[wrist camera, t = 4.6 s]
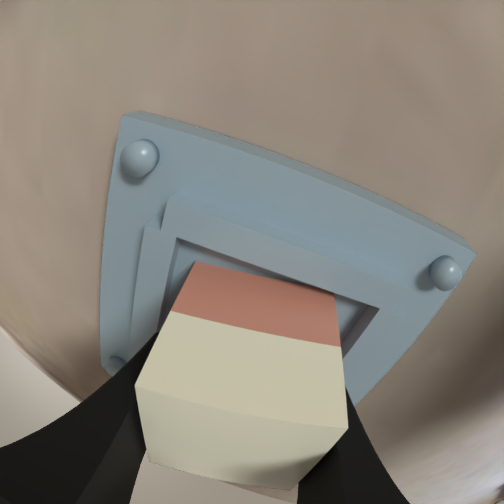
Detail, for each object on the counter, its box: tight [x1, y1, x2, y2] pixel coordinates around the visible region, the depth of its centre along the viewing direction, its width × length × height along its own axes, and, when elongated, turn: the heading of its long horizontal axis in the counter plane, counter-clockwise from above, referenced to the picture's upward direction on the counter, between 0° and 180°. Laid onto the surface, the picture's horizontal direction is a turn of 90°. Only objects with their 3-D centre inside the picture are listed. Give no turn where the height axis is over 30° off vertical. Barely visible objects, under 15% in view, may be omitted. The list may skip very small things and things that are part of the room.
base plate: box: [100, 111, 477, 406], centre depth 12 cm, size 12×12×2 cm
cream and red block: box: [135, 261, 348, 490], centre depth 9 cm, size 4×4×5 cm
